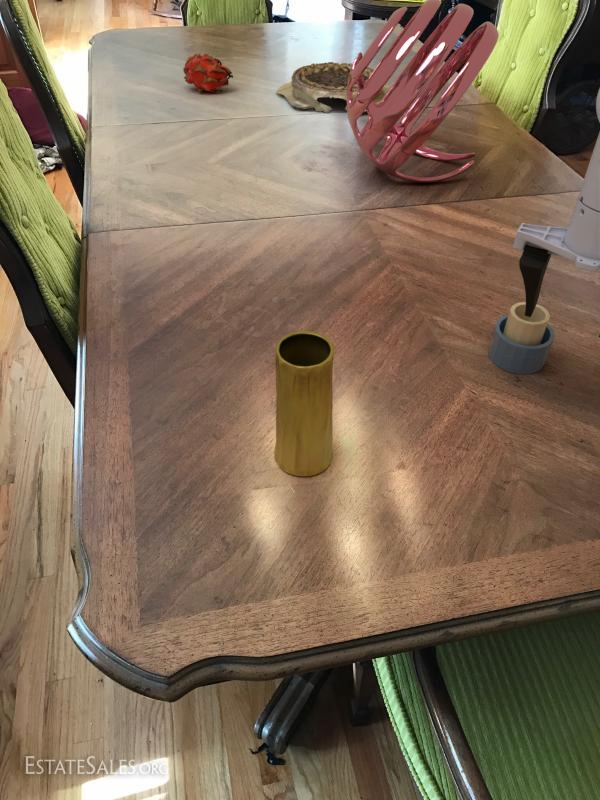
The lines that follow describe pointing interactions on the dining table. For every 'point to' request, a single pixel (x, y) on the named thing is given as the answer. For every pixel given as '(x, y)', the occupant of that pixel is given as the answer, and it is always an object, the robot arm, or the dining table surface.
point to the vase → (304, 403)
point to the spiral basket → (416, 86)
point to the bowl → (518, 351)
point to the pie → (322, 85)
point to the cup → (526, 325)
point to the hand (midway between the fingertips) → (566, 322)
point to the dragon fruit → (206, 73)
